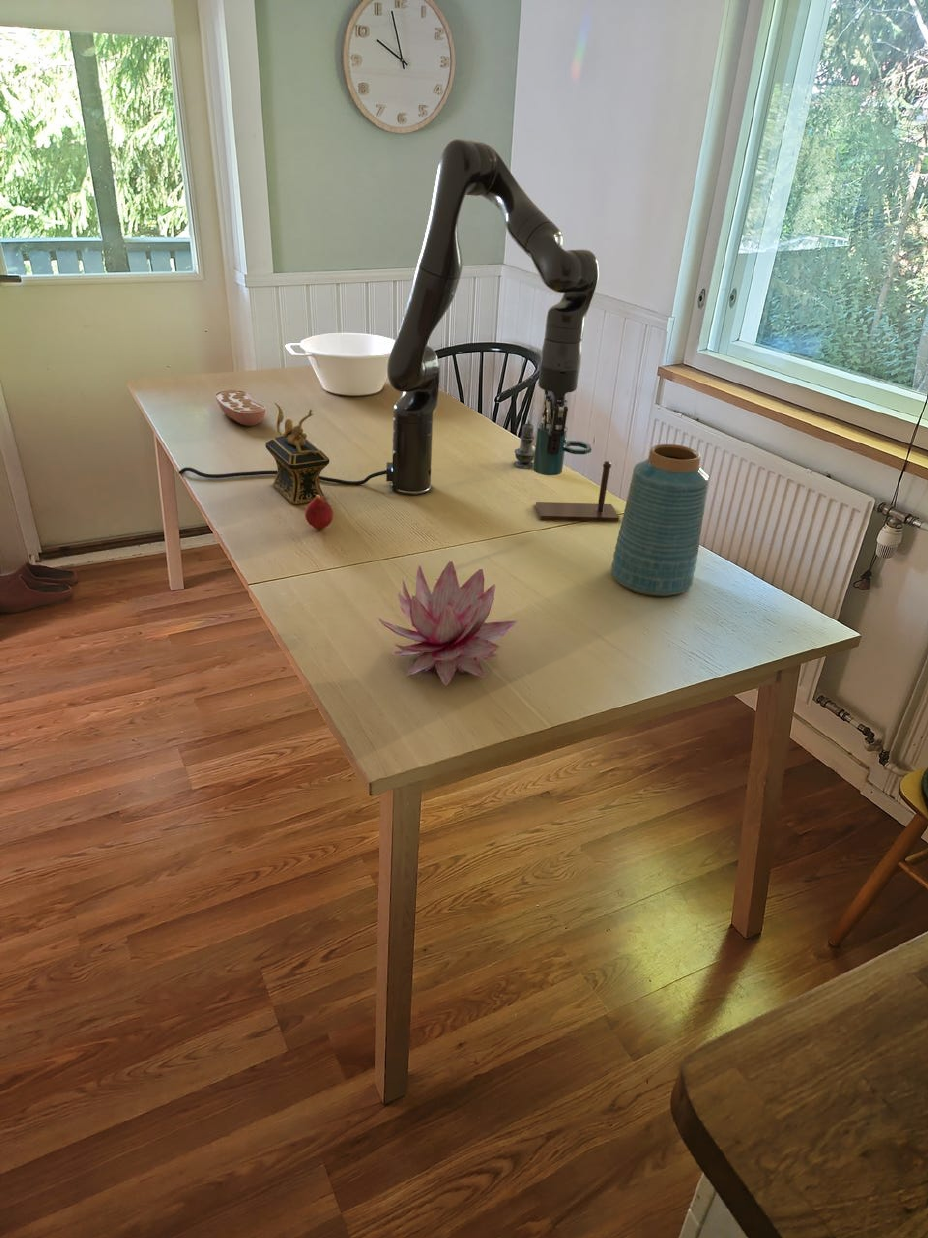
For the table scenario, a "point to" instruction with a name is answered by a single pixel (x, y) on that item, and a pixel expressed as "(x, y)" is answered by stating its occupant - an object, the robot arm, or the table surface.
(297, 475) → the decorative box
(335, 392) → the pot
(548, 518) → the mug stand
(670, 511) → the vase
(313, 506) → the onion
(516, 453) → the grey chess piece
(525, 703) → the table surface
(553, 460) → the mug
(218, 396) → the anatomical model
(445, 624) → the decorative flower
